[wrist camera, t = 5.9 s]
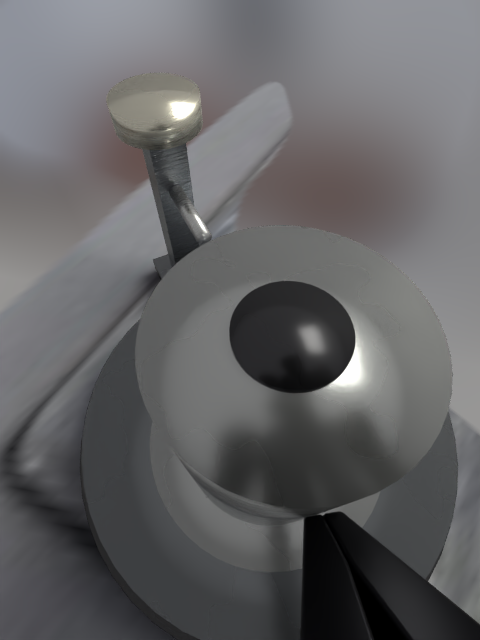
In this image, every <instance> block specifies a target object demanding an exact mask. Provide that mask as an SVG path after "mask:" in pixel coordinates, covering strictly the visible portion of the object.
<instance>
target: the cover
mask: <svg viewBox="0 0 480 640" xmlns="http://www.w3.org/2000/svg"><path fill="white" fill-rule="evenodd" d="M135 368H136V374H137V380H138V385H139V389H140V392H141V395H142V398H143V401H144V404H145V407H146V409H147V411H148V413H149V415H150V417H151V419H152V421H153V422H152V426H151V435H150V460H151V465H152V471H153V476H154V480H155V483H156V486H157V489H158V492H159V494H160V497H161V499H162V501H163V503H164V505H165V507H166V509H167V510H168V512H169V514H170V515H171V517H172V518H173V520H174V521H175V523H176V524H177V525H178V526H179V527H180V529H181V530H182V531H183V532H184V533H185V534H186V535H187V537H189V538H190V539H191V540H192V541H193V542H194V543H196V544H197V545H198V546H199V547H200V548H201V549H203V550H205V551H206V552H208V553H209V554H211V555H212V556H214V557H216V558H217V559H220V560H222V561H224V562H226V563H229V564H231V565H233V566H237V567H240V568H244V569H248V570H252V571H262V572H285V571H292V570H297V569H301V568H302V558H303V527H304V518H305V517H307V516H313V515H319V514H320V515H322V516H323V515H324V514H325V513H330V512H336V511H341V512H343V513H345V514H346V515H347V516H348V517H349V518H351V519H352V520H353V521H354V522H356V523H357V524H358V525H359V526H360V527H363V526H364V524H365V523H366V521H367V520H368V518H369V516H370V515H371V513H372V511H373V509H374V507H375V504H376V502H377V500H378V498H379V494H380V491H381V490H383V489H385V488H386V487H388V486H390V485H392V484H393V483H395V482H397V481H398V480H399V479H401V478H402V477H403V476H404V475H405V474H407V473H408V472H409V471H410V470H412V469H413V468H414V467H415V466H416V465H417V464H418V463H419V461H420V460H421V459H422V458H423V457H424V456H425V454H426V453H427V452H428V451H429V450H430V448H431V446H432V445H433V443H434V441H435V440H436V438H437V436H438V435H439V433H440V431H441V429H442V426H443V423H444V421H445V418H446V416H447V413H448V409H449V404H450V399H451V394H452V376H453V373H452V364H451V355H450V351H449V348H448V343H447V339H446V336H445V333H444V331H443V329H442V326H441V324H440V322H439V319H438V318H437V316H436V314H435V312H434V310H433V308H432V306H431V305H430V303H429V302H428V300H427V299H426V298H425V296H424V295H423V294H422V292H421V291H420V290H419V288H418V287H417V286H416V285H415V284H414V283H413V282H412V281H411V280H410V279H409V277H408V276H407V275H405V274H404V273H403V272H402V271H401V270H400V269H399V268H397V267H396V266H395V265H394V264H393V263H391V262H390V261H388V260H387V259H386V258H384V257H383V256H382V255H380V254H378V253H377V252H375V251H373V250H371V249H370V248H368V247H366V246H364V245H362V244H360V243H358V242H355V241H354V240H351V239H349V238H346V237H343V236H341V235H338V234H335V233H331V232H328V231H324V230H319V229H315V228H308V227H302V226H286V225H279V226H262V227H255V228H248V229H244V230H240V231H235V232H232V233H229V234H226V235H223V236H220V237H218V238H216V239H214V240H212V241H209V242H207V243H205V244H203V245H202V246H200V247H198V248H197V249H195V250H193V251H192V252H190V253H189V254H188V255H186V256H185V257H184V258H182V259H181V260H180V261H179V262H178V263H177V264H176V265H175V266H173V267H172V268H171V269H170V270H169V271H168V272H167V274H166V275H165V276H164V277H163V278H162V280H161V281H160V282H159V283H158V285H157V286H156V288H155V290H154V291H153V293H152V294H151V296H150V298H149V299H148V302H147V304H146V306H145V309H144V311H143V313H142V316H141V320H140V323H139V327H138V331H137V338H136V346H135Z"/></svg>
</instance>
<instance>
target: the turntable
mask: <svg viewBox="0 0 480 640" xmlns="http://www.w3.org/2000/svg"><path fill="white" fill-rule="evenodd" d="M140 320H141V319H140ZM140 320H139V321H138V322H137V323H136V324H135V325H134V326H133V327H132V328H131V329H130V330H129V331H128V332H127V333H126V335H125V336H124V337H123V338H122V340H121V341H120V342H119V344H118V345H117V346H116V347H115V349H114V350H113V352H112V354H111V355H110V357H109V359H108V360H107V362H106V364H105V365H104V367H103V369H102V371H101V373H100V375H99V378H98V380H97V382H96V384H95V387H94V389H93V392H92V396H91V399H90V402H89V405H88V409H87V413H86V418H85V424H84V430H83V436H82V441H81V458H80V475H81V487H82V497H83V501H84V506H85V510H86V515H87V519H88V524H89V526H90V529H91V532H92V534H93V537H94V540H95V542H96V545H97V548H98V550H99V552H100V554H101V556H102V558H103V560H104V561H105V563H106V565H107V567H108V569H109V571H110V572H111V574H112V576H113V577H114V579H115V580H116V581H117V583H118V584H119V585H120V587H121V588H122V589H123V591H124V592H125V593H126V595H127V596H128V597H129V599H130V600H131V601H132V602H133V603H134V604H135V605H136V606H137V607H138V608H139V609H140V610H141V611H142V612H143V613H144V614H145V615H146V616H147V617H148V618H149V619H150V620H151V621H152V622H153V623H155V624H156V625H157V626H159V627H160V628H162V629H163V630H164V631H166V632H167V633H169V634H170V635H172V636H173V637H174V638H176V639H177V640H300V621H301V590H302V568H301V569H297V570H292V571H285V572H262V571H252V570H248V569H244V568H240V567H237V566H233V565H231V564H229V563H226V562H224V561H222V560H220V559H217V558H216V557H214V556H212V555H211V554H209V553H208V552H206V551H205V550H203V549H201V548H200V547H199V546H198V545H197V544H196V543H194V542H193V541H192V540H191V539H190V538H189V537H187V535H186V534H185V533H184V532H183V531H182V530H181V529H180V527H179V526H178V525H177V524H176V523H175V521H174V520H173V518H172V517H171V515H170V514H169V512H168V510H167V509H166V507H165V505H164V503H163V501H162V499H161V497H160V494H159V492H158V489H157V486H156V483H155V480H154V476H153V471H152V465H151V460H150V435H151V426H152V422H153V421H152V419H151V417H150V415H149V413H148V411H147V409H146V407H145V404H144V401H143V398H142V395H141V392H140V389H139V385H138V380H137V374H136V368H135V346H136V338H137V331H138V327H139V323H140ZM457 477H458V462H457V452H456V443H455V436H454V432H453V428H452V424H451V420H450V415H449V412H448V413H447V416H446V418H445V421H444V423H443V426H442V429H441V431H440V433H439V435H438V436H437V438H436V440H435V441H434V443H433V445H432V446H431V448H430V450H429V451H428V452H427V453H426V454H425V456H424V457H423V458H422V459H421V460H420V461H419V463H418V464H417V465H416V466H415V467H414V468H413V469H412V470H410V471H409V472H408V473H407V474H405V475H404V476H403V477H402V478H401V479H399V480H398V481H397V482H395V483H393V484H392V485H390V486H388V487H386V488H385V489H383V490H381V491H380V494H379V498H378V500H377V502H376V504H375V507H374V509H373V511H372V513H371V515H370V516H369V518H368V520H367V521H366V523H365V524H364V526H363V527H362V528H363V529H364V530H365V531H367V532H368V533H369V534H370V535H371V536H373V537H374V538H375V539H376V540H378V541H379V542H380V543H381V544H382V545H384V546H385V547H386V548H387V549H389V550H390V551H391V552H392V553H393V554H395V555H396V556H397V557H398V558H400V559H401V560H402V561H403V562H404V563H406V564H407V565H408V566H409V567H411V568H412V569H413V570H414V571H415V572H417V573H418V574H419V575H420V576H421V577H423V578H424V579H425V580H426V581H428V580H429V578H430V576H431V574H432V572H433V570H434V568H435V566H436V564H437V562H438V560H439V558H440V556H441V554H442V551H443V548H444V545H445V541H446V538H447V535H448V532H449V529H450V525H451V522H452V519H453V513H454V507H455V501H456V495H457Z"/></svg>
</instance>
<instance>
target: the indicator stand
mask: <svg viewBox="0 0 480 640" xmlns="http://www.w3.org/2000/svg"><path fill="white" fill-rule="evenodd" d="M106 101H107V106H108V109H109V112H110V115H111V119H112V122H113V125H114V129H115V132H116V135H117V136H118V138H119V139H120V140H121V141H123V142H124V143H126V144H128V145H130V146H132V147H135V148H139V149H142V150H143V154H144V158H145V162H146V166H147V170H148V174H149V178H150V182H151V186H152V190H153V194H154V198H155V202H156V206H157V210H158V214H159V219H160V223H161V227H162V231H163V235H164V239H165V243H166V247H167V251H168V254H167V255H165V256H162V257H159V258H156V259H153V262H154V265H155V268H156V271H157V273H158V275H159V277H160V279H161V280H162V278H163V277H164V276H165V275H166V274H167V272H168V271H169V270H170V269H171V268H172V267H173V266H175V265H176V264H177V263H178V262H179V261H180V260H181V259H182V258H184V257H185V256H186V255H188V254H189V253H190V252H192V251H193V250H195V249H197V248H198V247H200V246H202V245H203V244H205V243H207V242H209V241H210V240H211V238H212V235H211V233H210V232H209V230H208V228H207V227H206V225H205V224H204V222H203V220H202V219H201V217H200V216H199V214H198V212H197V211H196V209H195V208H194V201H193V193H192V186H191V178H190V171H189V163H188V156H187V148H186V143H187V142H188V141H190V140H192V139H193V138H194V137H195V136H197V134H198V133H199V132H200V130H201V128H202V124H203V121H202V110H201V99H200V90H199V88H198V86H197V85H196V84H195V83H194V82H193V81H191V80H189V79H187V78H185V77H183V76H179V75H175V74H169V73H148V74H142V75H137V76H133V77H130V78H128V79H125V80H123V81H121V82H119V83H118V84H116V85H115V86H114V87H113V88H112V89H111V90H110V91H109V93H108V95H107V98H106Z"/></svg>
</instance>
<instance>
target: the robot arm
mask: <svg viewBox="0 0 480 640" xmlns="http://www.w3.org/2000/svg"><path fill="white" fill-rule="evenodd" d="M300 640H480V624H479V623H478V622H476V621H475V620H474V619H473V618H472V617H470V616H469V615H468V614H467V613H465V612H464V611H463V610H462V609H461V608H459V607H458V606H457V605H456V604H454V603H453V602H452V601H451V600H450V599H448V598H447V597H446V596H445V595H443V594H442V593H441V592H440V591H439V590H437V589H436V588H435V587H434V586H432V585H431V584H430V583H429V582H428V581H426V580H425V579H424V578H423V577H421V576H420V575H419V574H418V573H417V572H415V571H414V570H413V569H412V568H411V567H409V566H408V565H407V564H406V563H404V562H403V561H402V560H401V559H400V558H398V557H397V556H396V555H395V554H393V553H392V552H391V551H390V550H389V549H387V548H386V547H385V546H384V545H382V544H381V543H380V542H379V541H378V540H376V539H375V538H374V537H373V536H371V535H370V534H369V533H368V532H367V531H365V530H364V529H363V528H362V527H360V526H359V525H358V524H357V523H356V522H354V521H353V520H352V519H351V518H349V517H348V516H347V515H346V514H345V513H343V512H341V511H336V512H330V513H325V514H324V515H323V516H322V515H320V514H319V515H313V516H307V517H305V518H304V527H303V558H302V590H301V621H300Z"/></svg>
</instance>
